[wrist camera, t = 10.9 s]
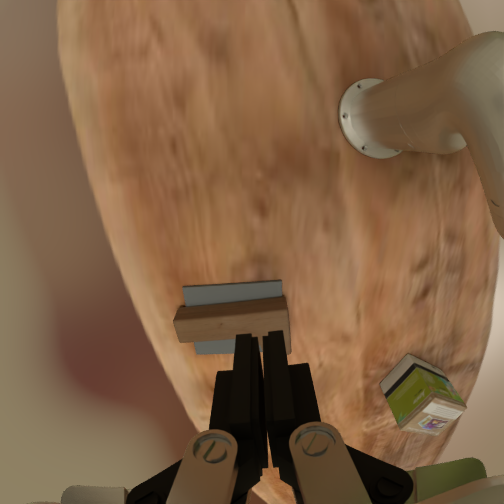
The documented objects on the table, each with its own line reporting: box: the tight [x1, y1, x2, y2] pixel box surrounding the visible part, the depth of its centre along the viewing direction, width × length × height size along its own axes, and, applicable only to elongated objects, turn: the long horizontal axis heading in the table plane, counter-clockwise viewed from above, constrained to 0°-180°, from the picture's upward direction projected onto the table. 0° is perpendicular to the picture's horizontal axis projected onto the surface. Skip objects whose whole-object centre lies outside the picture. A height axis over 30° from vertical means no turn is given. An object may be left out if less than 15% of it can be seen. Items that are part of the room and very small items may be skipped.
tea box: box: [380, 354, 467, 436], centre depth 49 cm, size 15×10×15 cm
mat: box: [183, 280, 282, 354], centre depth 50 cm, size 16×14×1 cm
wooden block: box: [173, 297, 292, 355], centre depth 48 cm, size 9×4×18 cm
